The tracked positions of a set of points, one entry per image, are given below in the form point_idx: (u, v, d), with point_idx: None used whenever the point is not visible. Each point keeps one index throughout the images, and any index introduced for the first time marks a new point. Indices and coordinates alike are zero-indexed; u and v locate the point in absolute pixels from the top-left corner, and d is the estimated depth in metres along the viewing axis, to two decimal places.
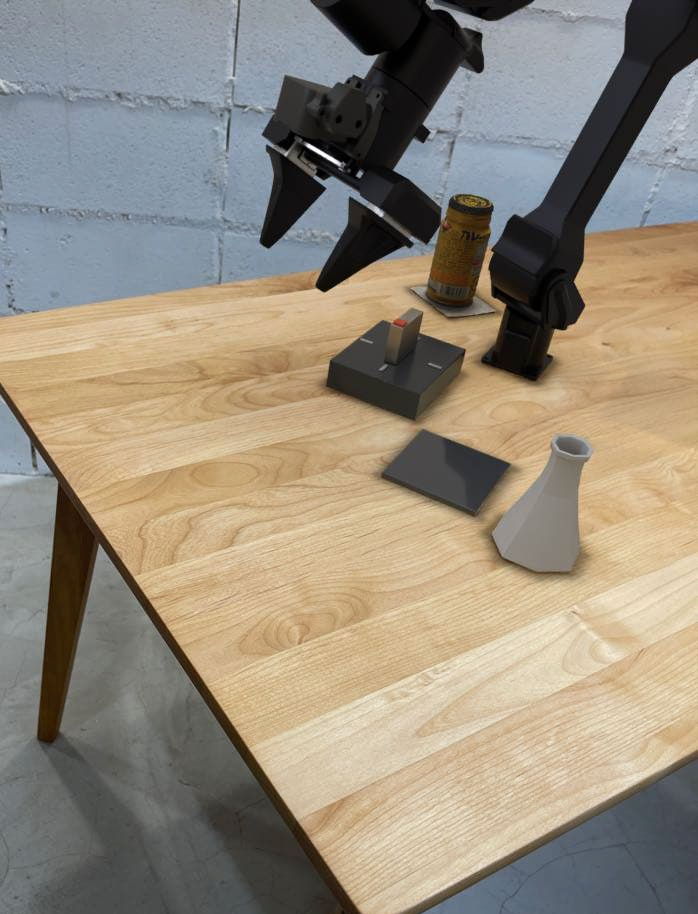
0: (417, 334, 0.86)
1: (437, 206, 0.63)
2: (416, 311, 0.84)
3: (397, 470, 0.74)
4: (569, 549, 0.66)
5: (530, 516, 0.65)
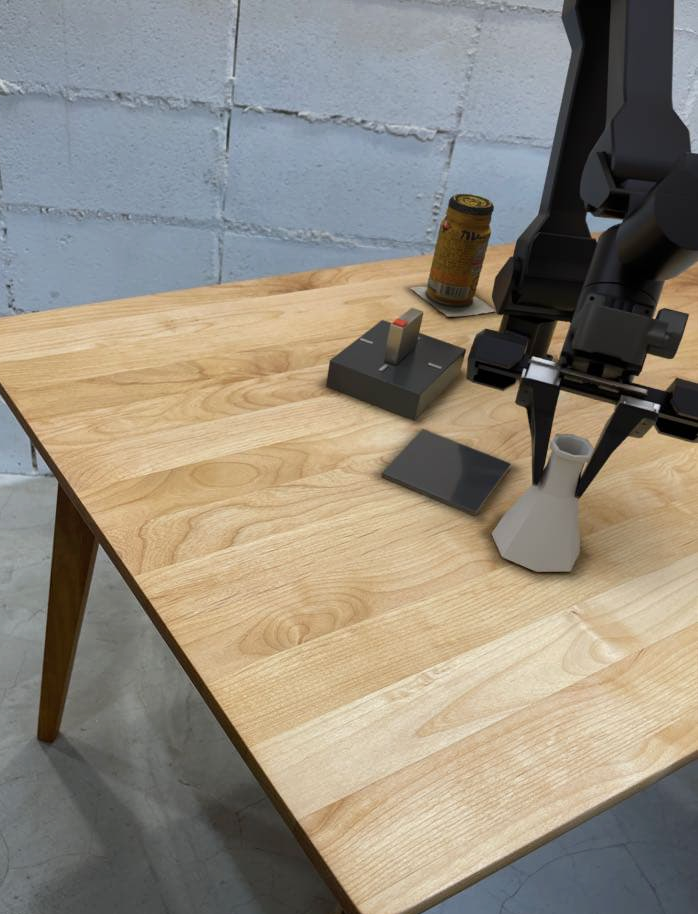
0: (417, 334, 0.86)
1: None
2: (416, 311, 0.84)
3: (397, 470, 0.74)
4: (569, 549, 0.66)
5: (530, 516, 0.65)
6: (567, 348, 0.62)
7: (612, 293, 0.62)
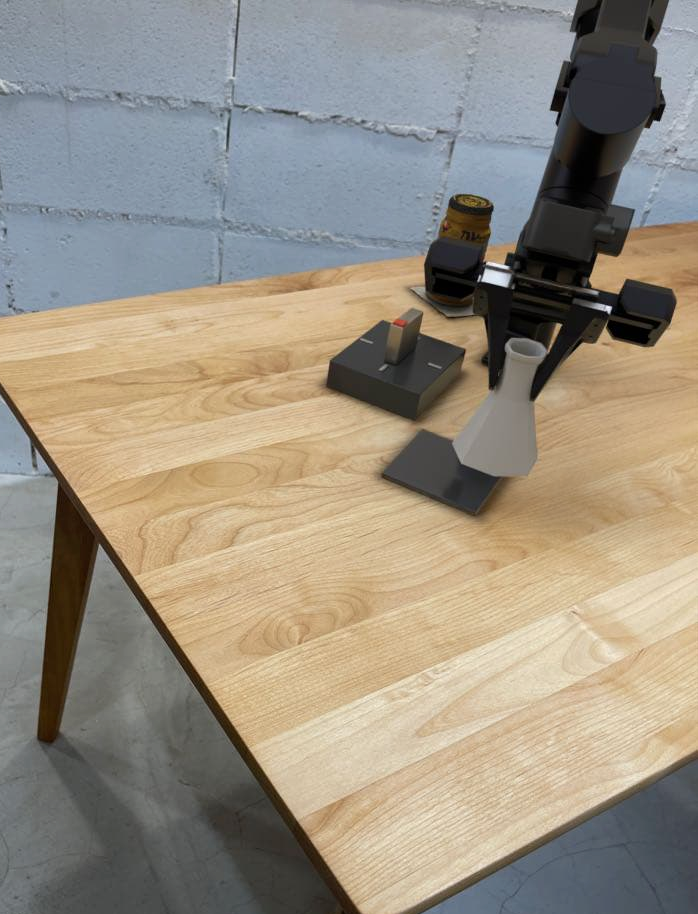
0: (417, 334, 0.86)
1: None
2: (416, 311, 0.84)
3: (397, 470, 0.74)
4: (526, 453, 0.67)
5: (487, 420, 0.67)
6: (520, 251, 0.63)
7: (564, 197, 0.63)
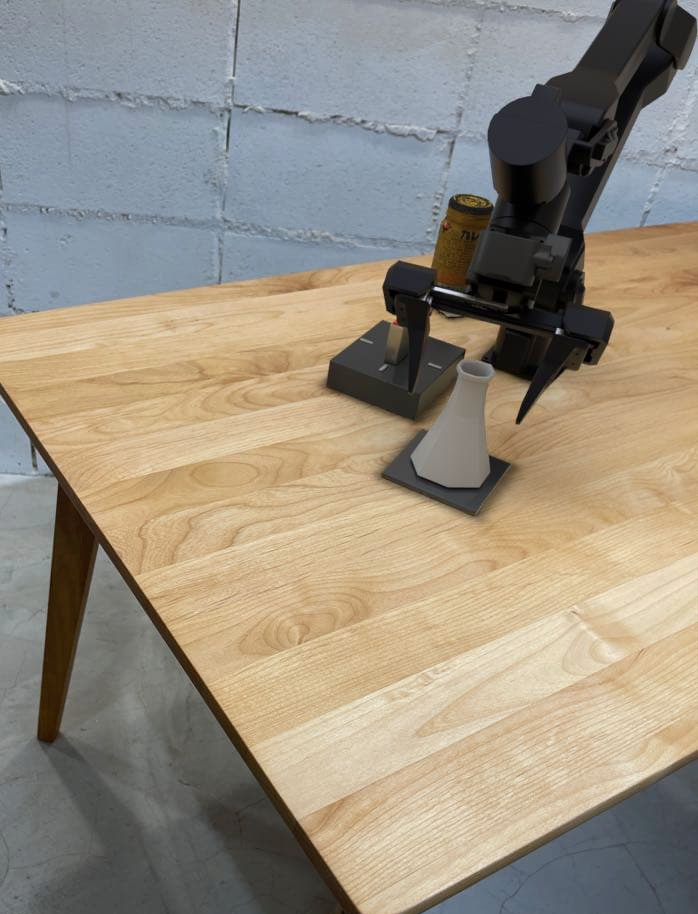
0: None
1: None
2: None
3: (397, 470, 0.74)
4: (477, 466, 0.72)
5: (441, 435, 0.72)
6: (470, 276, 0.68)
7: (511, 226, 0.68)
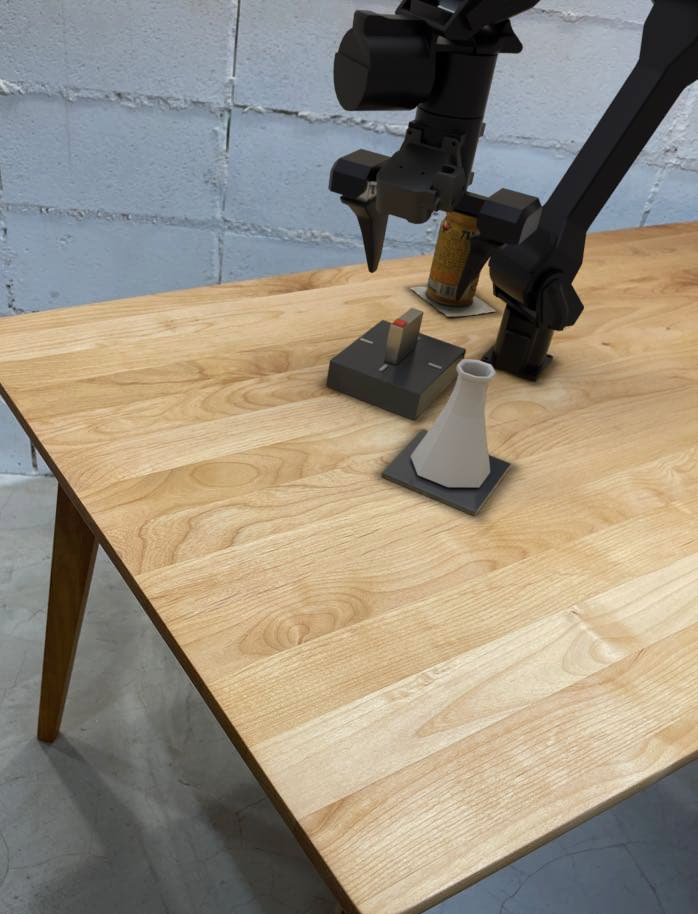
0: (417, 334, 0.86)
1: (537, 201, 0.73)
2: (416, 311, 0.84)
3: (397, 470, 0.74)
4: (477, 466, 0.72)
5: (441, 435, 0.72)
6: None
7: (428, 123, 0.70)
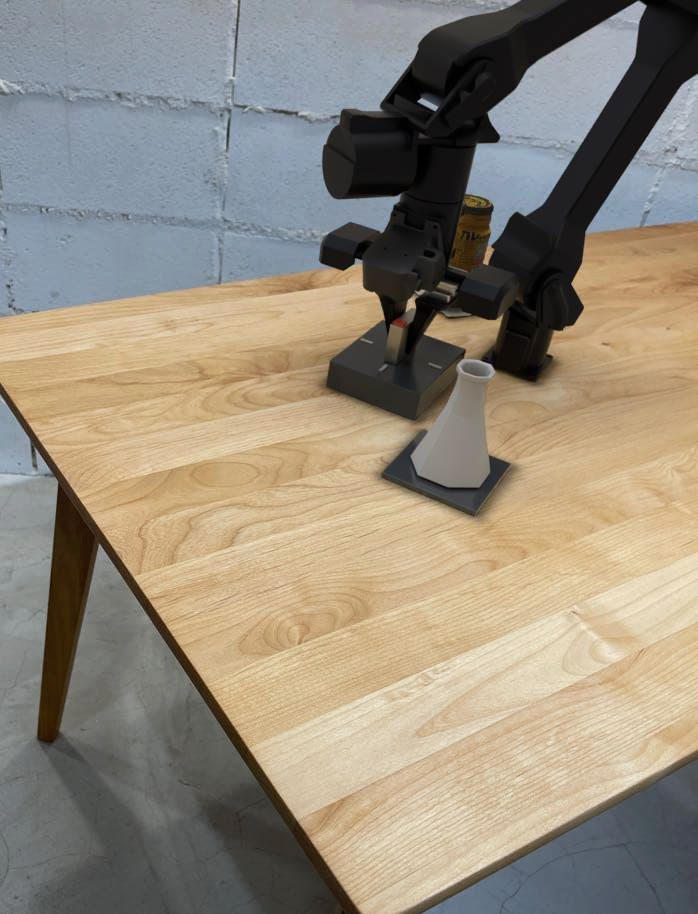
0: None
1: (514, 277, 0.77)
2: None
3: (397, 470, 0.74)
4: (477, 466, 0.72)
5: (441, 435, 0.72)
6: None
7: (411, 207, 0.74)
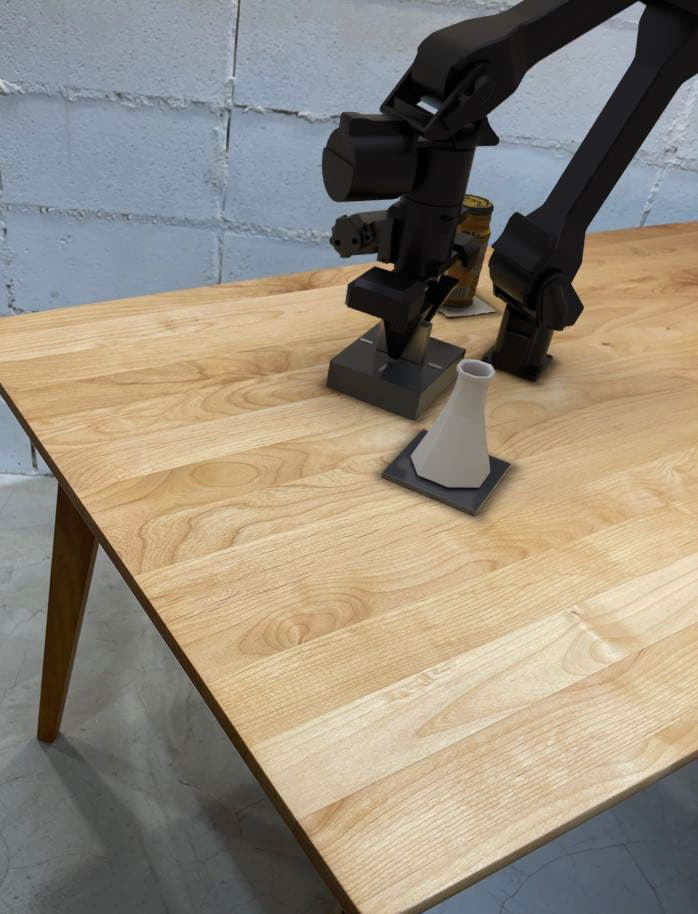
0: (418, 347, 0.84)
1: (395, 291, 0.72)
2: (425, 324, 0.82)
3: (397, 470, 0.74)
4: (477, 466, 0.72)
5: (441, 435, 0.72)
6: None
7: None
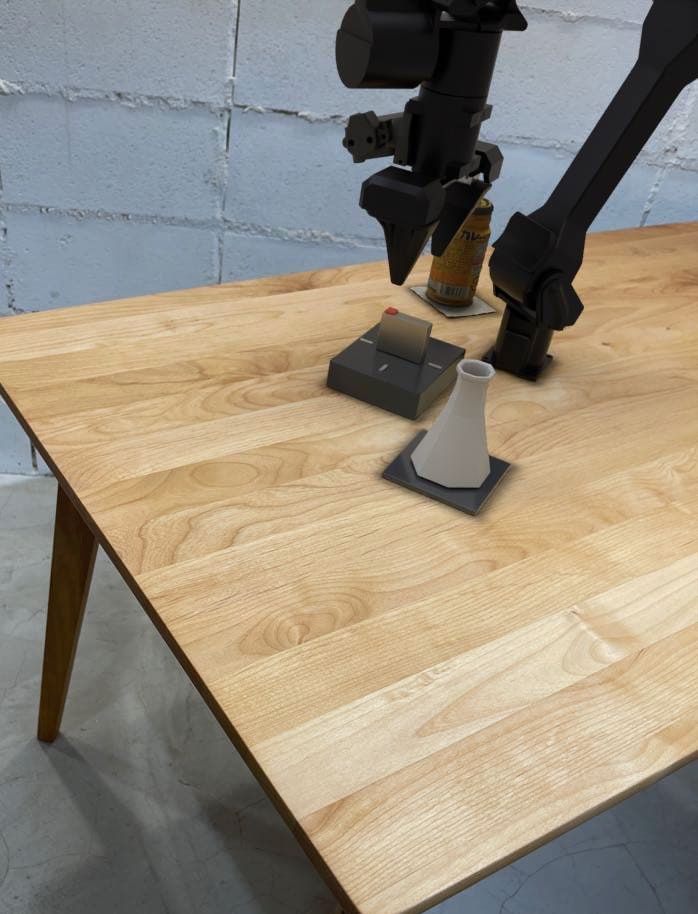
0: (418, 347, 0.84)
1: (414, 188, 0.67)
2: (425, 324, 0.82)
3: (397, 470, 0.74)
4: (477, 466, 0.72)
5: (441, 435, 0.72)
6: None
7: None
